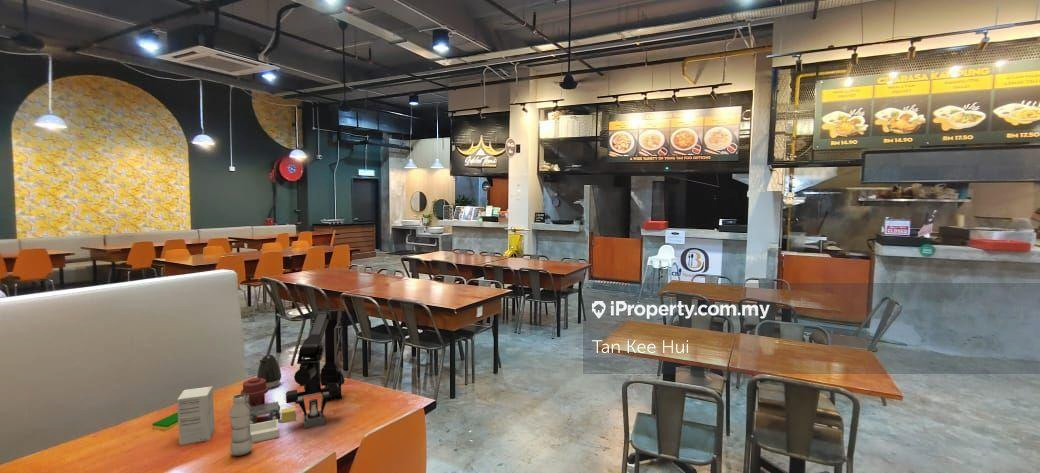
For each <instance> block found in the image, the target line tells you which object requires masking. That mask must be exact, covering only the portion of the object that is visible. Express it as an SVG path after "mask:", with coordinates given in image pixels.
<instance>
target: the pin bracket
mask: <svg viewBox="0 0 1040 473" xmlns="http://www.w3.org/2000/svg"><path fill="white" fill-rule="evenodd" d="M302 416H303V425H304V427H303V428H304V430H307V429H311V428H316V427H317V428H318V427H321V426H325V422H326V421H325V418H326V417H325V415H324V412H323V413H321V410H318V417H316V418H311V419H310V414H309V412H306V416H305V415H304V413H303V414H302Z"/></svg>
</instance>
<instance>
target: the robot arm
mask: <svg viewBox="0 0 1040 473" xmlns="http://www.w3.org/2000/svg"><path fill="white" fill-rule="evenodd" d="M341 319H342V310H340V309H339V308H338V307H337V308H322V310H318V311H317V312H316V319H315V321H314V324H313V326H312V329H311V332H310V335H309V336H308V337H307V338H305V339H304V340H303V343H302V345H301V346H300V347H299V352H298V356H297V361H296V362H297V363H296V364H297V365H299V368H298V370H297V371H296V372H295V373H294V376H293V377H294V378H293V379H294V381H295V382H296V384H298V385H299V387H303V389H304V391H299V392H298V389H293V390H287V391H286V392H285V401H286V404H291V403H295V405H297V404H298V405H299V406H300V408H301V410H302V412H303V414H304V415H305V416H306V413H307V409H306V404H305V399H304V397H309V396H310V397H311V396H316V395H321V402H320V411H321V413H324V409H325V406H326V404H327V402H330V401H334V400H336V401H337V400H340V399H341V400H342V399H343V396H342V385H344V384H345V382H346V381H345V375H344V373H343V371H342V367H341V365H340V363H339V361H338V359H337V358H338V351H337V350H338V349H337V348H338V345H337V342H338V341H337V339H338V338H337V328H338V326H339V324H340V322H341ZM323 338H324V346H323V342H322V341H323ZM324 348H325V349H324ZM324 352H325V353H324ZM323 356H325V357H324V362H325V363H324V365H323V366H322V368H321V361H322V359H323Z"/></svg>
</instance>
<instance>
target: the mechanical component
mask: <svg viewBox="0 0 1040 473" xmlns="http://www.w3.org/2000/svg"><path fill="white" fill-rule="evenodd" d="M268 392H269V388H268V386H267V385H266V380H265V379H263V378H257V377H251V378H250V379H248V380H246V381H244V382H243V383H242V389H241V391H240V394H245V395H246V397H247V395H249V405H250V407H251V406H257V405H262V404H266V400H265V399H266V397H265V396H266V395H265V394H267V393H268Z"/></svg>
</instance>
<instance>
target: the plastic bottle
mask: <svg viewBox="0 0 1040 473" xmlns="http://www.w3.org/2000/svg"><path fill="white" fill-rule="evenodd" d="M232 399H233V400H232V403H233V405H232V406H231V408H230V409H229V413H228V415H229V420H230V426H231V442H230V447H229V449H230V450H229V451H230V453H231V454H232V455H233V456H237V457H238V456H243V455H247V454H248V453H250V452H251V450H252V449H253V444H254V443H253V442H252V438H251V432H250V419H251V410H252V409H251V407H250V405H249V404H248V403H246V395H245V394H241V393H240V394H236V395H233V396H232Z"/></svg>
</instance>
